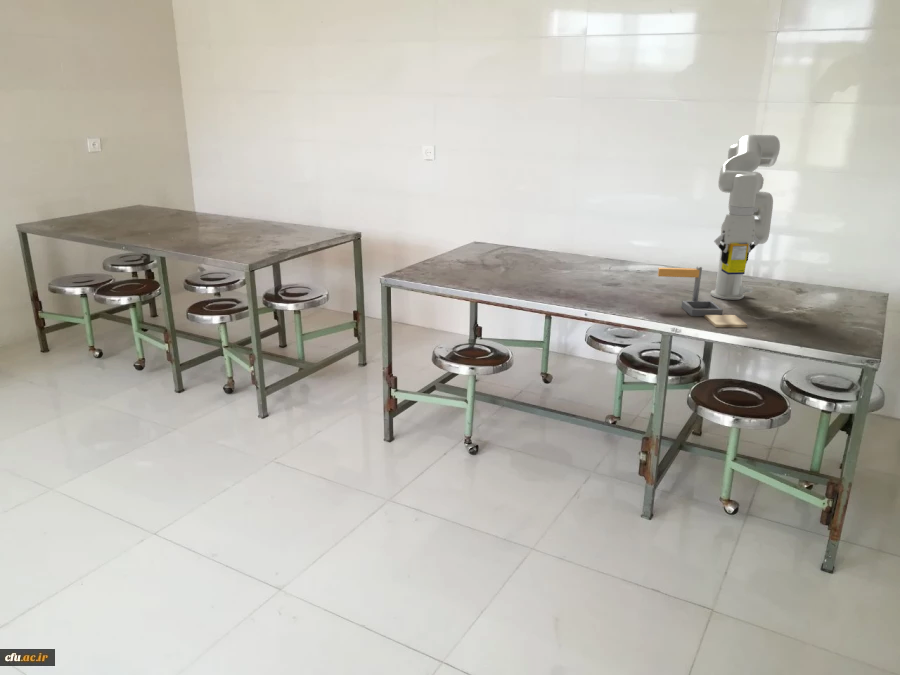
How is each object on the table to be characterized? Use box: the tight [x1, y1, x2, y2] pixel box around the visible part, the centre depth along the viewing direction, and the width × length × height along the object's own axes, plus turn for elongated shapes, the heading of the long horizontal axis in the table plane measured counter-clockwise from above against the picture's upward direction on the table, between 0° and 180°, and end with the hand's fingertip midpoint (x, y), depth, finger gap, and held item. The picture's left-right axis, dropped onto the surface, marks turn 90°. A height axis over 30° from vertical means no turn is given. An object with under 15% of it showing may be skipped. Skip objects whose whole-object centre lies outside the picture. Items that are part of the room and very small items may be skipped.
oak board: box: [703, 314, 748, 328], centre depth 243 cm, size 11×11×1 cm
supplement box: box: [721, 243, 750, 275], centre depth 235 cm, size 6×6×11 cm
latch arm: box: [657, 266, 703, 301], centre depth 260 cm, size 16×2×15 cm, turn 84°
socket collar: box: [681, 300, 724, 317], centre depth 255 cm, size 11×11×2 cm
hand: (733, 262), depth 236 cm, fingers closed on supplement box, 6 cm apart
